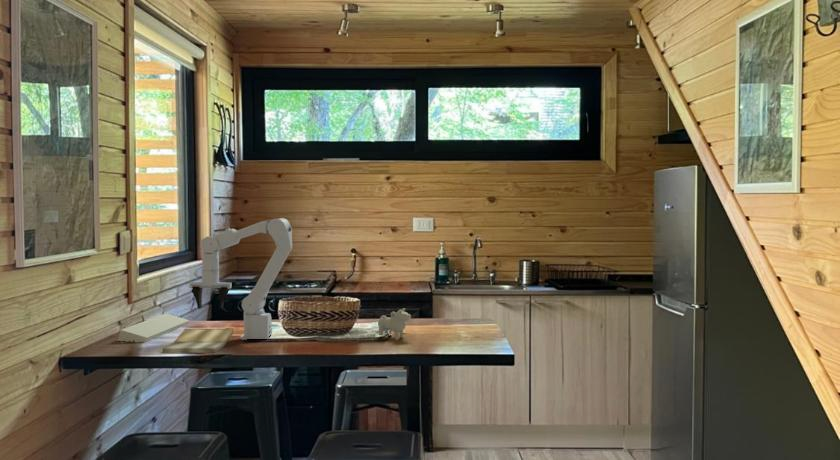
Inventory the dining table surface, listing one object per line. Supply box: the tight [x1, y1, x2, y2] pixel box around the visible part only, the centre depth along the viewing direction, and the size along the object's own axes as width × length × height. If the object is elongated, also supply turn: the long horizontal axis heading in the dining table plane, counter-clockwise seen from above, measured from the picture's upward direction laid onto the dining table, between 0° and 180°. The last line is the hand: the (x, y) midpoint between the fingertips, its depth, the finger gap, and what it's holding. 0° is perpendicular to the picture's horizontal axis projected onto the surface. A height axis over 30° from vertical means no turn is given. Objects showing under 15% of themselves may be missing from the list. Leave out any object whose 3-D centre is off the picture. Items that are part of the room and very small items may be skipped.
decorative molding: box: [117, 313, 190, 343], centre depth 253 cm, size 34×5×10 cm
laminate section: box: [162, 341, 226, 354], centre depth 224 cm, size 17×10×2 cm, turn 89°
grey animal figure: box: [377, 307, 412, 341], centre depth 241 cm, size 5×13×11 cm, turn 60°
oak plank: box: [174, 328, 234, 346], centre depth 234 cm, size 17×10×2 cm, turn 89°
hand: (210, 308), depth 242 cm, fingers open, 7 cm apart
